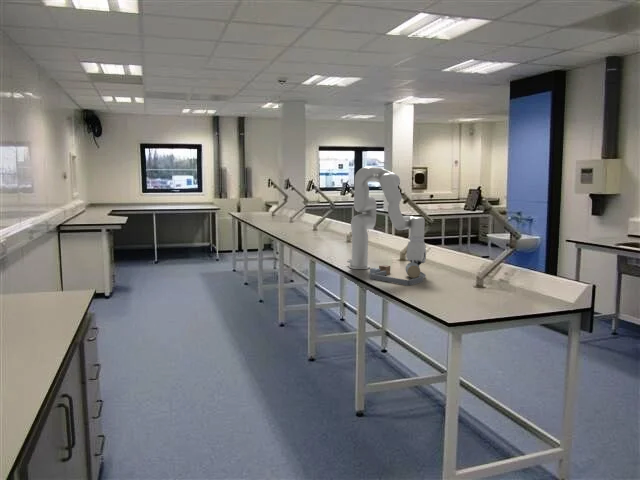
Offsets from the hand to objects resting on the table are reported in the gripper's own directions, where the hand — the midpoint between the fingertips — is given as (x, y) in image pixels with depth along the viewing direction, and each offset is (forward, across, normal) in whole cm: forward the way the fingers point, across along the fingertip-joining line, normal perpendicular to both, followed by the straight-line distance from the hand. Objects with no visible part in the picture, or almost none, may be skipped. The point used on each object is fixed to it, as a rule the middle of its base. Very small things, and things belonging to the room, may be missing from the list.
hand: (415, 272), depth 284 cm
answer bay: (+2, 0, -19) cm, 19 cm away
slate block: (+2, -15, -17) cm, 23 cm away
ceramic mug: (+2, +3, -5) cm, 6 cm away
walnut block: (+2, -15, -8) cm, 17 cm away
